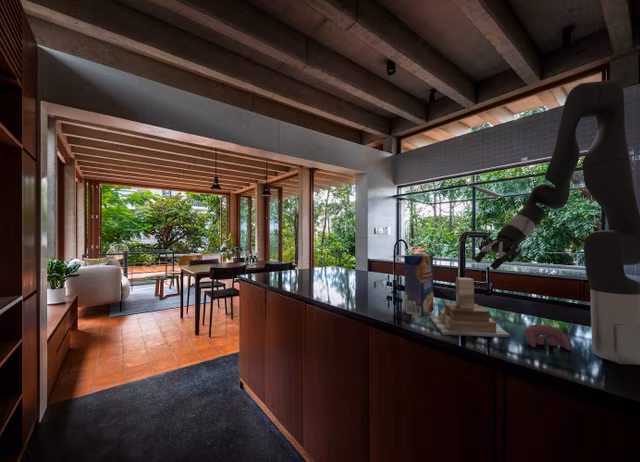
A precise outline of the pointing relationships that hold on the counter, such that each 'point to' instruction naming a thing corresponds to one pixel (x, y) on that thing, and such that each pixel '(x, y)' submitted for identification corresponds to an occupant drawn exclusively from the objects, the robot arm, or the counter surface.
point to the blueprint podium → (466, 322)
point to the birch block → (465, 293)
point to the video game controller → (552, 333)
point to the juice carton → (419, 284)
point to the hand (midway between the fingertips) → (484, 264)
